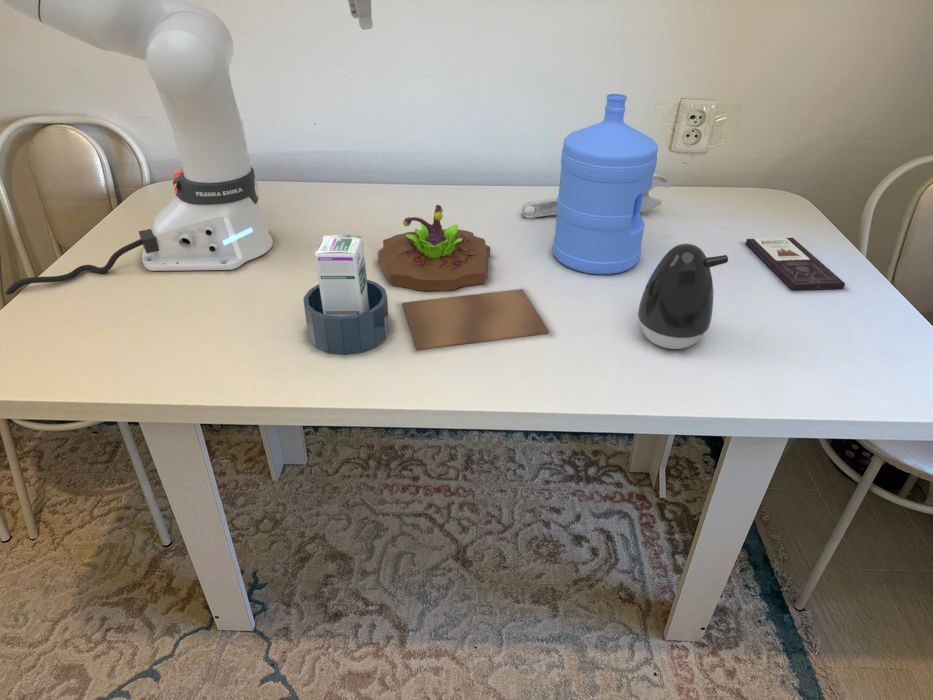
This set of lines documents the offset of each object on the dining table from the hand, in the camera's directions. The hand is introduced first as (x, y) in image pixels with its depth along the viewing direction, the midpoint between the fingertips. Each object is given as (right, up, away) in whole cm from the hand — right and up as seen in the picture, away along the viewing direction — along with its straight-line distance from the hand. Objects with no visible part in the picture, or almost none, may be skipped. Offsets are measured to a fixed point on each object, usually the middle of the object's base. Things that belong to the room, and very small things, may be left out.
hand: (362, 22), depth 101 cm
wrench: (+42, -22, +35) cm, 59 cm away
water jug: (+39, -33, +20) cm, 55 cm away
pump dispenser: (+46, -48, -3) cm, 67 cm away
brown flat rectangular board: (+17, -45, +1) cm, 48 cm away
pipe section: (-2, -47, -2) cm, 47 cm away
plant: (+11, -35, +16) cm, 40 cm away
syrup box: (-2, -47, -2) cm, 47 cm away
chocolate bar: (+74, -35, +17) cm, 84 cm away
